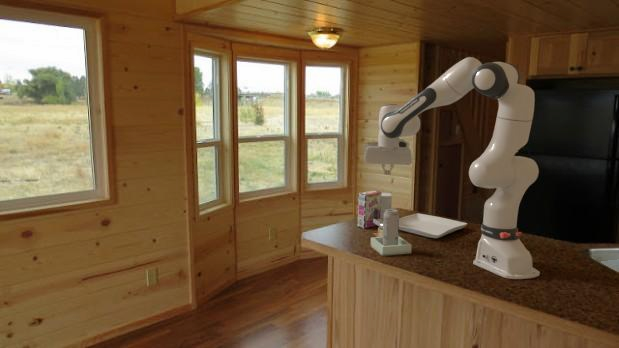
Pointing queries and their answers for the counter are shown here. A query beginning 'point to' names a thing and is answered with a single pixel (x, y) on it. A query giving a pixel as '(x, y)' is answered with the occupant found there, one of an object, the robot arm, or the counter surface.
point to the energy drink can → (390, 227)
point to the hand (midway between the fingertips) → (387, 174)
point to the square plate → (429, 225)
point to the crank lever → (376, 219)
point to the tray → (391, 247)
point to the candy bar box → (368, 208)
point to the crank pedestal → (379, 233)
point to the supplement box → (385, 203)
